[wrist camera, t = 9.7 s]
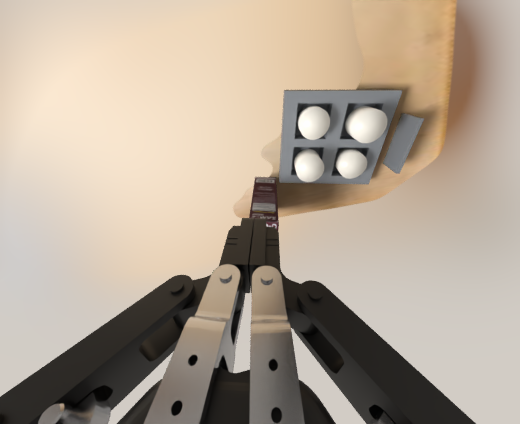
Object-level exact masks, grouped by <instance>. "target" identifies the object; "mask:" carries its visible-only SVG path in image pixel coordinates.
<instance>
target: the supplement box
mask: <svg viewBox="0 0 520 424" xmlns="http://www.w3.org/2000/svg"><path fill="white" fill-rule="evenodd" d="M249 218H254V221H255V218H265V219H266V227H275V228H276V230H277V231H278V226H279V222H278V208H277V188H276V178H270V177H255V184H254V189H253V196H252V203H251V210H250V217H249Z"/></svg>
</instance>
